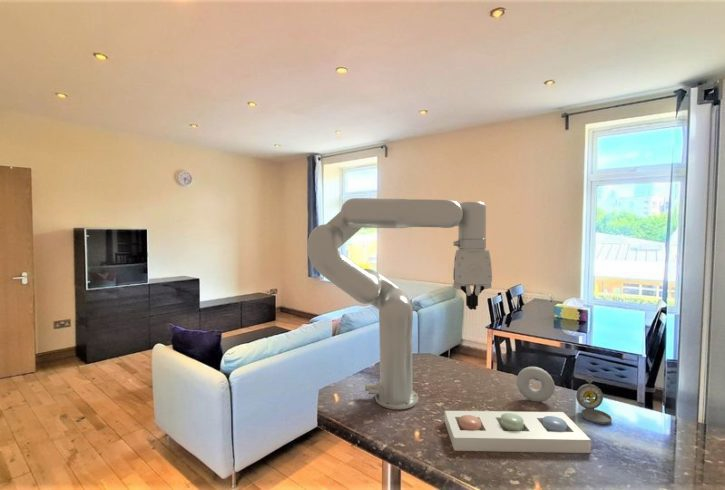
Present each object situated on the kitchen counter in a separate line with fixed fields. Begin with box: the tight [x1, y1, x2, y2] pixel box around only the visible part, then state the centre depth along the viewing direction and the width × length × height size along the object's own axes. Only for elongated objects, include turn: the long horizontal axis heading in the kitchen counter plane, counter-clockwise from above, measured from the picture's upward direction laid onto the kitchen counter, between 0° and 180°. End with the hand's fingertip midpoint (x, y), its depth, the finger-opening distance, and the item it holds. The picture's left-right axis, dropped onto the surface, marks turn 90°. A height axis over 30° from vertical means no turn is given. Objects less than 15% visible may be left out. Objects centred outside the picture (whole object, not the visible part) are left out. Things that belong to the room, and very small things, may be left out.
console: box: [444, 410, 592, 454], centre depth 86 cm, size 30×12×3 cm, turn 87°
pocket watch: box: [575, 374, 613, 425], centre depth 95 cm, size 8×8×10 cm
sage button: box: [501, 413, 523, 431], centre depth 86 cm, size 5×5×2 cm
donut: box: [516, 366, 556, 403], centre depth 103 cm, size 10×4×10 cm, turn 64°
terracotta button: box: [459, 415, 481, 431], centre depth 87 cm, size 5×5×2 cm
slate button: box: [543, 416, 567, 432], centre depth 86 cm, size 5×5×2 cm
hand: (472, 308), depth 103 cm, fingers closed
